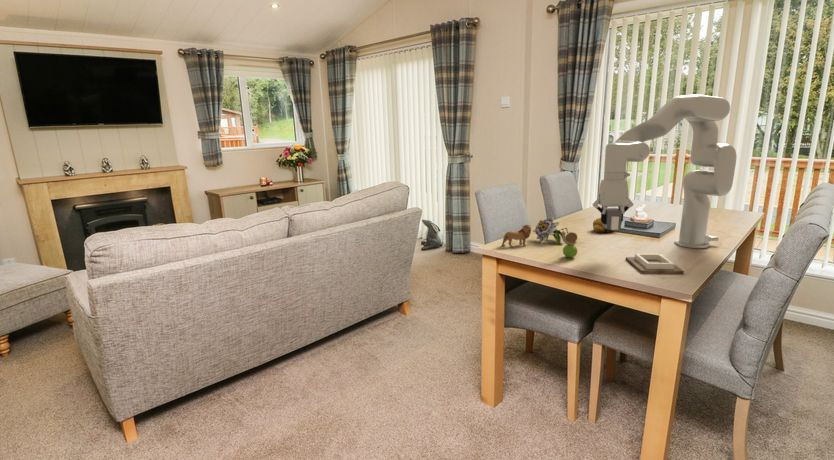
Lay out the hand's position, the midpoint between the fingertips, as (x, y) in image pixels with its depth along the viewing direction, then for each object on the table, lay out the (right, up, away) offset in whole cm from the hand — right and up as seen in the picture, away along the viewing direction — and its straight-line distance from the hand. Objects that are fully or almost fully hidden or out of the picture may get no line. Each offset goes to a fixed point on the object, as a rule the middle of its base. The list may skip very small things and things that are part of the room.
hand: (611, 223), depth 169 cm
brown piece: (+12, -16, -8) cm, 21 cm away
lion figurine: (-31, -10, +24) cm, 41 cm away
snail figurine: (-15, -14, +5) cm, 21 cm away
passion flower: (-15, -8, +29) cm, 34 cm away
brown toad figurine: (+15, -3, +45) cm, 47 cm away
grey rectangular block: (0, -2, 0) cm, 2 cm away
